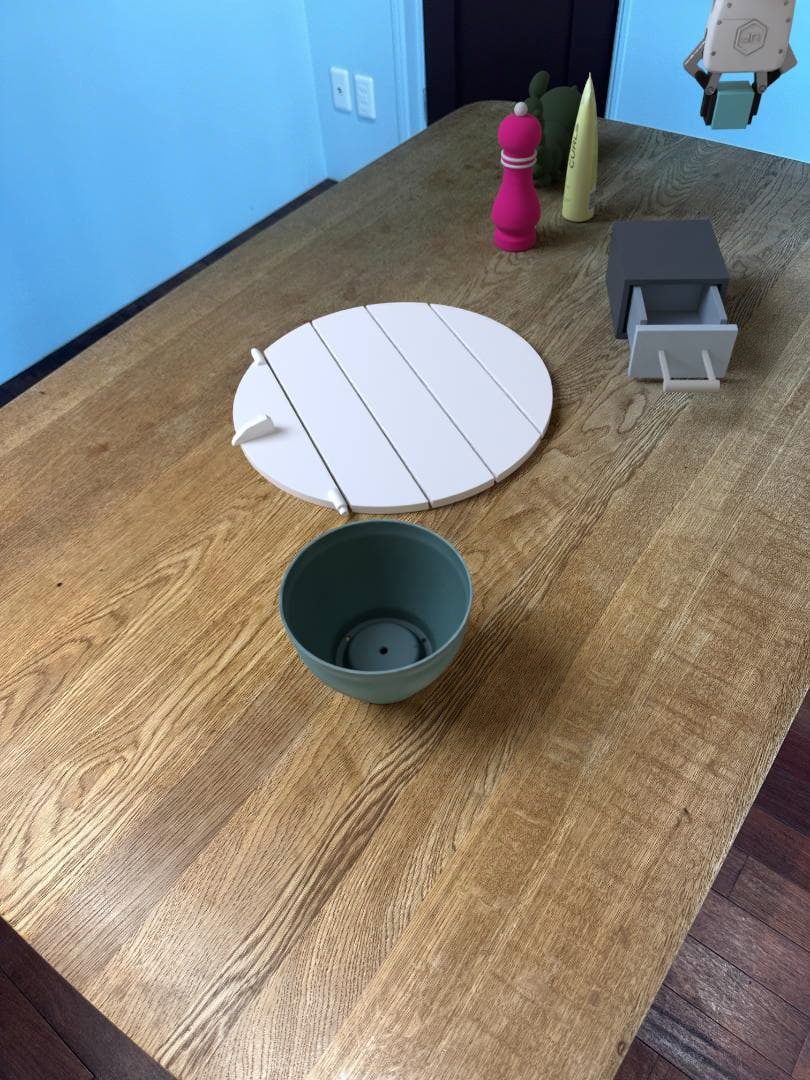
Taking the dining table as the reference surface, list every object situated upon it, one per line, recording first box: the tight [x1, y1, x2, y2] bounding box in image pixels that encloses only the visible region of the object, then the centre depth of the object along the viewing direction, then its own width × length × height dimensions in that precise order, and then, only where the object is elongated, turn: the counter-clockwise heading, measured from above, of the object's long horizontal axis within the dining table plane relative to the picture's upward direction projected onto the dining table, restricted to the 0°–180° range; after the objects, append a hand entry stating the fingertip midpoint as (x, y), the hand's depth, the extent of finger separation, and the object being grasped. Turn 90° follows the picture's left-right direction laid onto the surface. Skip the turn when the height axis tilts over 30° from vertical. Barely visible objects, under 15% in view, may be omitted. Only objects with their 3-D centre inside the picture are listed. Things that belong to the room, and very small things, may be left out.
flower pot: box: [278, 518, 474, 705], centre depth 71 cm, size 16×16×11 cm
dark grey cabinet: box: [605, 219, 731, 339], centre depth 107 cm, size 15×13×9 cm
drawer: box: [625, 284, 739, 394], centre depth 98 cm, size 21×11×7 cm, turn 176°
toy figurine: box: [522, 70, 583, 188], centre depth 133 cm, size 9×19×25 cm
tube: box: [561, 71, 599, 223], centre depth 121 cm, size 6×5×20 cm
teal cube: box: [709, 79, 755, 131], centre depth 111 cm, size 5×5×5 cm
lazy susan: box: [231, 301, 554, 518], centre depth 99 cm, size 40×39×3 cm
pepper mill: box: [491, 101, 542, 253], centre depth 116 cm, size 7×7×20 cm
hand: (726, 119), depth 113 cm, fingers closed on teal cube, 4 cm apart
